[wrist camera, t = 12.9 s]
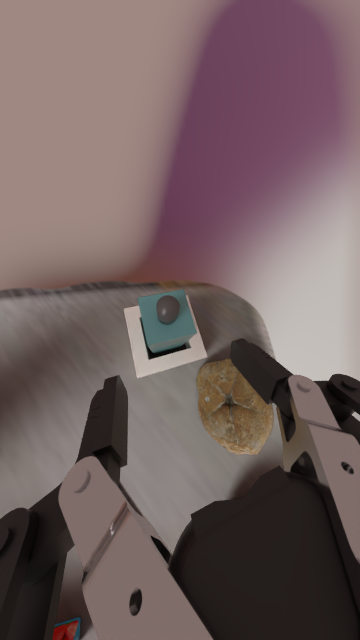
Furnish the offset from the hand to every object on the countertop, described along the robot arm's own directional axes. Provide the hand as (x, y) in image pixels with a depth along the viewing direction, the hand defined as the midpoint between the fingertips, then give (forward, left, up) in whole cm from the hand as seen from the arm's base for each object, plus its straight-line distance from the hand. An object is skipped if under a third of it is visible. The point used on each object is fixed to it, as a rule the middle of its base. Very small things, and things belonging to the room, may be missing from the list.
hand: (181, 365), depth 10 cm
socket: (0, +4, -12) cm, 12 cm away
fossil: (+6, -6, -12) cm, 15 cm away
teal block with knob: (0, +4, -12) cm, 12 cm away
